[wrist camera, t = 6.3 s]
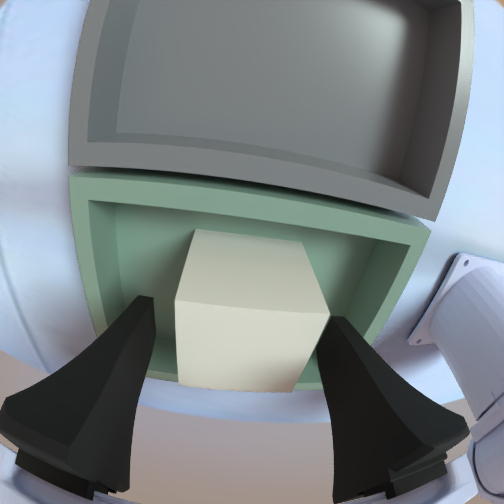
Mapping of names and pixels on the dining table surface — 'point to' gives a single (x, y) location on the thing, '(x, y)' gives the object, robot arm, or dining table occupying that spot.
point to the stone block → (246, 313)
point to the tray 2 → (239, 222)
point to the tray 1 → (279, 93)
